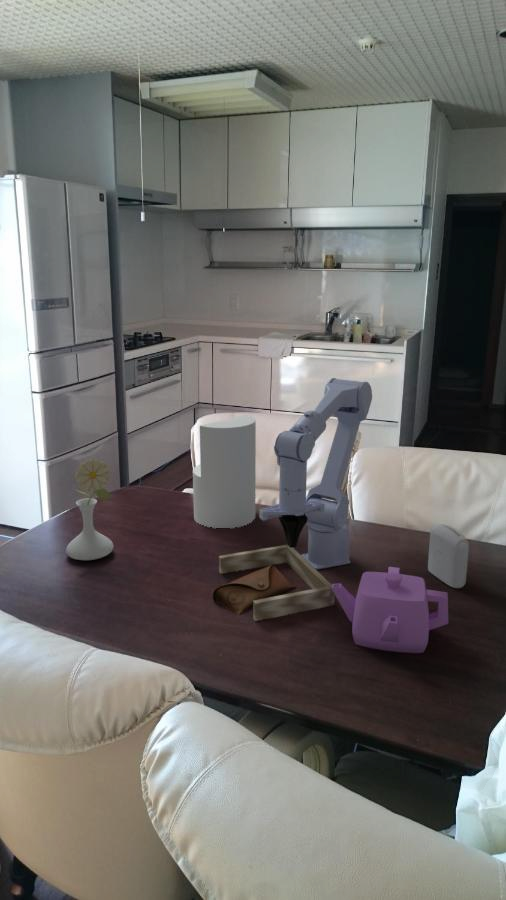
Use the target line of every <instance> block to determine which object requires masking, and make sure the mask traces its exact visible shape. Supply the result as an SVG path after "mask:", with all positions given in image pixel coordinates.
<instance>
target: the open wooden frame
mask: <svg viewBox="0 0 506 900" xmlns="http://www.w3.org/2000/svg"><path fill="white" fill-rule="evenodd" d="M301 555H302V554H300V553H299V552H298V551H297V550H296V549H295V547H293V548H290V547H289V546H288V545H287V544H282V545H278V546H276V545H275V546H272V547H266V548H265V547H264V548H258V549H253V550H248V551H241V552H240V551H239V552H235V553H228V554H224V555H223V554H222V555H219V556H218V571H219V574H221V575H222V574H223V575H224V574H229V572H230V573H235V572H239V570H241V571H246V569H247V570H253V569H256V568H262V567H263V568H265V567H268V566H270V565H271V564H274V566H275V565H280V564H285V563H286V564H287V565H289V567H290V568H291V569H292V570H293V571H294V572H295V573H296V574H297V575H298V576H299V577H300V578H301V579H302V580H303V581H304V582H305V583H306V584H307V586H308V587H310V588H311V589H306V590H302V591H296V592H291V593H285V594H281V595H280V594H279V595H276V596H274V597H269V598H264V599H259V600H254V601H253V607H252V615H253V617H252V619H253V620H254V622H258V621H259V620H260V621H263V619H265V620H269V619H274V618H278V617H283V616H289V615H294V614H298V612H299V613H301V612H308V611H313V610H318V609H323V608H327V607H332V606H335V597H336V595H335V594H334V592H333V590H332V583H330V582H329V581H328V579H326V577H324V576H323V575H322V574H321V573H320V572H319V571H318V569H317V570H316V569H315V568H314V567H312V566H311V565H310V564H309V563H308V562H307V561H306V560H305V559H304V558H303V557H302V556H301ZM234 571H235V572H234ZM293 613H294V614H293ZM288 614H289V615H288Z"/></svg>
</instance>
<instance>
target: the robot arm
mask: <svg viewBox="0 0 506 900" xmlns="http://www.w3.org/2000/svg"><path fill="white" fill-rule="evenodd" d="M323 393H324V394H323V395H324V396H323V397H322V398H321V400H320V401H319V402H318V404H317V405H316V407H315V408H314V410H306V411H305V412H304V414H303V415H302V416H301V417H300V418H299V419H298V420H297V421H296V422H295V423H294V424H293V425H292V427H291V428H290V429H289V430H283V431H282V432H280V433H278V435H277V436H276V438H275V444H274V446H273V450H274V455H275V457H276V463H277V465H278V466H279V481H278V482H279V486H278V487H279V488H278V489H279V493H278V494H279V495H278V496H279V497H278V498H279V500H278V503H277V504H273V505H270V506H267V507H264V508H259V509H258V510H259V514H258V515H259V519H260V520H262V521H267V520H269V519H274V518H278V520H279V523H280V525H281V526H282V529H283V532H284V535H285V539H286V540H285V541H286V545H288V546H289V547H290V548H297V545H298V542H299V538H300V535H301V533H302V530H303V529H304V527H305V526H306V527H308V537H307V538H308V540H307V553H302V554H300V555H301V556H302V557H303V558H304V559H305V560H306V561H307V562H308V563H309V564H310V565H311V566H312V567H314V568H315V569H316V570H317V571H318V570H321V569H328V568H333V567H338V566H343V565H344V566H345V565H349V564H351V560H350V543H351V536H350V530H349V528H348V526H347V525H346V523H347V520H348V515H349V506H350V500H349V497H348V496H347V495H346V493H345V492H344V491H343V490H342V487H343V484H344V481H345V477H346V474H347V470H348V467H349V463H350V460H351V456H352V453H353V449H354V446H355V442H356V438H357V435H358V432H359V428H360V424H361V422H363V421H365V420H366V419H367V417H368V414H369V412H370V411H369V410H370V407H371V405H372V402H373V401H372V400H373V391H372V386H371V384H370V383H369V382H368V381H357V380H356V381H355V380H348V379H341V378H335V377H332V378H330V379H329V380H328V381H327V383H326V384H325V387H324V392H323ZM332 416H334V417H335V418H337V421H338V422H337V425H336V429H335V432H334V433H335V434H334V436H333V440H332V443H331V447H330V450H329V453H328V456H327V461H326V463H325V468H324V470H323V473H322V476H321V477H322V478H321V481H320V483H319V484H317V485H315V486H314V487H311V488H310V489H309V490H308V493H307V473H308V472H307V471H308V469H307V467H308V460H309V459H310V458H311V457H312V454H313V450H314V448H315V445H316V441H317V440H318V439H319V438H320V436H321V435H322V434H323V433H324V432H325V430H326V429H327V421H328V420H329V419H330V418H331V417H332Z"/></svg>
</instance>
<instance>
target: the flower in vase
mask: <svg viewBox="0 0 506 900" xmlns="http://www.w3.org/2000/svg"><path fill="white" fill-rule="evenodd" d="M108 465H109V464H107V463H106V462H105V461H102V460H100V459H97V458H92V459H87V460H86V461H84V462H81V463H80V464H79V467H77V469H76V472H75V473H74V474H75V476H74V478H75V480H76V483H77V484H78V485H77V486H78V488H80V489H81V490H83V491H81V490H79V489H77V488H76V487H74V489H75V491H76V492H78V493H79V494H82V495H84V496H87V497H86V498H82V499H81V498H80V499H78V500H76V501H75V505H76V506H77V507H78V509H79V510H80V512H81V516H82V522H83V524H82V526H83V528H82V531H81V532H80V533H79V534H78V535H76V537H74V538H73V539H72V540H71V541H70V542H69V543H68V544H67V546H66V549H65V552H66V555H68V557H70V558H71V559H73V560H79V561H92V560H93V561H94V560H98V559H102V558H104V557H106V556H108V555H110V553H112V551H113V549H114V548H115V547H114V546H115V545H114V543H113V541H112V540H111V539H110V538H109V537H108V536H105V535H103V534H102V533H100V532H98V531H97V530H96V529H95V527H94V522H93V521H94V517H93V516H94V515H93V514H94V509H95V507H96V505H97V503H98V500H97V499H95V498H93V496H94V495H96V496H97V498H98V499H99V500H105V499H106V500H107V499H111V498H112V494H110V492H109V491H108V490H107V489H106V488H105V487H106V486H107V484H108V483H107V482H108V481H109V480H110V478H111V475H112V474H111V472H110V468H109V467H108ZM84 491H87V492H90V493H92V494H91V496H90V495H89V494H88V493H86V492H84ZM88 497H89V498H88Z"/></svg>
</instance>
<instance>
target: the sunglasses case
mask: <svg viewBox="0 0 506 900" xmlns="http://www.w3.org/2000/svg"><path fill="white" fill-rule="evenodd" d="M295 588H297V586H296V585H294V584H292V583H291V582H290V581H289V580H288V579H287V578H286V577H285V575H283V574H282V572H281V571H280V570H279V569H278V568H276V566H275V565H274V564H271V565H269V566H265V567H263V568H261V569H258V570H256V571H253V572H251V573H249V574H246V575H244V576H241V577H239V578H237V579H235V580H233V581H231V582H229V583H225V584H221V585H220V586H218V587H216V588H215V590H214V591H213V593H212V599H213V601H214V602H213V603H216V602H217V603H216V604H218V603H219V604H218V605H219V606H221V605H222V607H223V606H224V608H225V607H227V608H228V609H227V608H226V609H227V610H229V609H230V610H229V611H231V610H233V611H235V612H238V613H237V615H240V614H239V613H242V614H244V613H245V612H247V611H248V610H250V609H252V608H253V601H254V600H259V599H264V598H269V597H275V596H279V595H280V593H281V594H282V593H285V592H287V591H291V590H293V589H295ZM251 607H252V608H251ZM249 608H250V609H249ZM247 609H248V610H247ZM246 610H247V611H246ZM233 611H232V612H233ZM244 611H245V612H244ZM235 612H234V613H235ZM243 612H244V613H243Z"/></svg>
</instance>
